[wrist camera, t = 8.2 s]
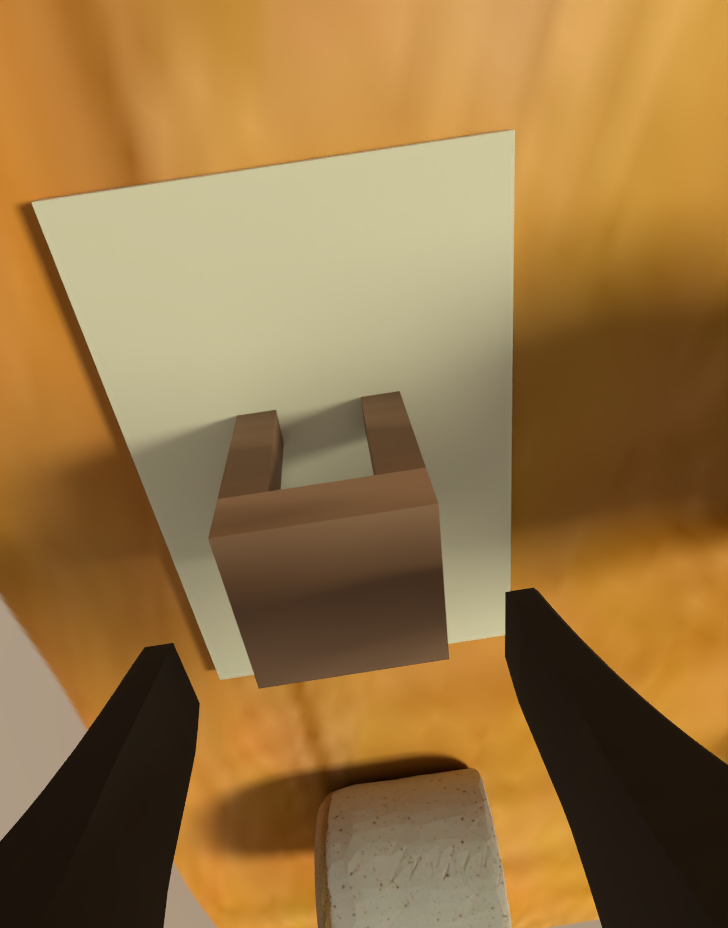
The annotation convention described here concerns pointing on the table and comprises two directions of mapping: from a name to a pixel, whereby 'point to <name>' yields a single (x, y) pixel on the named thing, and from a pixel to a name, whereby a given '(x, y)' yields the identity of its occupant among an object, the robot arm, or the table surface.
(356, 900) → the ceramic mug
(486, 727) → the table surface
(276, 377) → the mat
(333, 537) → the stool
